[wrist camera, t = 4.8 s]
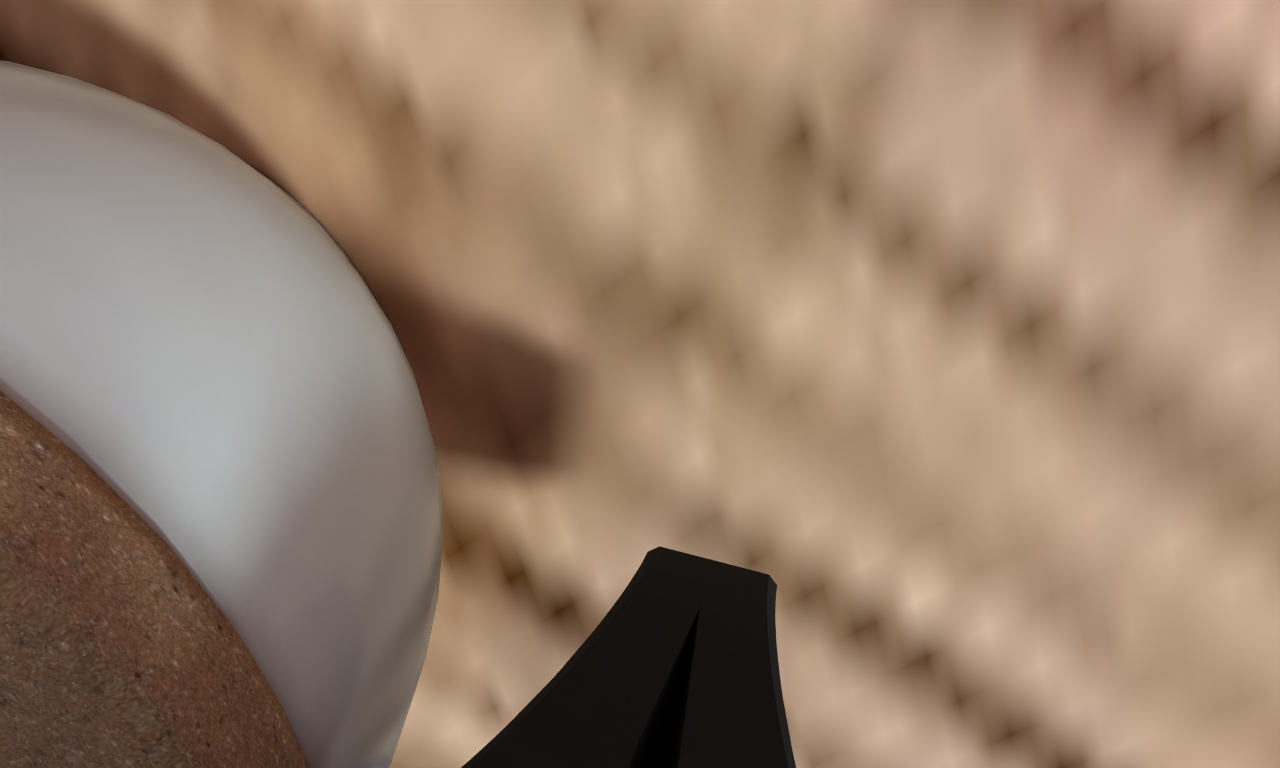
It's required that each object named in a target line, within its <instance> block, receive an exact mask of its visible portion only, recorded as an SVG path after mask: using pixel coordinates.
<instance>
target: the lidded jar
mask: <svg viewBox="0 0 1280 768" xmlns="http://www.w3.org/2000/svg"><path fill="white" fill-rule="evenodd" d="M441 557H442V498H441V489H440V480H439V471H438V462H437V453H436V449H435V446H434V442H433V438H432V435H431V431H430V428H429V424H428V420H427V417H426V414H425V410H424V407H423V403H422V400H421V396H420V393H419V389H418V386H417V382H416V379H415V376H414V373H413V371H412V369H411V366H410V364H409V362H408V360H407V358H406V356H405V353H404V351H403V349H402V347H401V345H400V342H399V340H398V338H397V336H396V334H395V332H394V329H393V327H392V325H391V323H390V322H389V320H388V319H387V317H386V316H385V314H384V312H383V311H382V309H381V308H380V306H379V305H378V303H377V301H376V300H375V298H374V297H373V295H372V294H371V292H370V290H369V289H368V287H367V286H366V284H365V283H364V281H363V279H362V278H361V276H360V275H359V274H358V272H357V271H356V269H355V268H354V266H353V264H352V263H351V261H350V260H349V258H348V257H347V255H346V253H345V252H344V251H343V250H342V249H341V247H340V246H339V245H338V244H337V242H336V241H335V240H334V239H333V238H332V236H331V235H330V234H329V233H328V232H327V230H326V229H325V228H324V227H323V226H322V224H321V223H320V222H319V221H318V220H317V219H316V218H315V217H314V216H312V215H311V214H310V213H309V212H308V211H307V210H306V209H305V208H304V207H303V206H302V205H301V204H300V203H299V202H298V201H297V200H296V199H295V198H294V197H292V196H291V195H290V194H289V193H287V192H286V191H285V190H283V189H282V188H281V187H279V186H278V185H277V184H275V183H274V182H273V181H271V180H270V179H269V178H267V177H266V176H265V175H263V174H262V173H261V172H259V171H257V170H256V169H254V168H252V167H251V166H249V165H248V164H247V163H245V162H244V161H243V160H241V159H240V158H239V157H237V156H236V155H235V154H233V153H232V152H231V151H229V150H228V149H227V148H225V147H224V146H223V145H221V144H219V143H217V142H216V141H214V140H212V139H210V138H209V137H207V136H205V135H203V134H202V133H200V132H198V131H196V130H195V129H193V128H191V127H189V126H188V125H186V124H184V123H182V122H181V121H179V120H177V119H175V118H174V117H172V116H170V115H168V114H166V113H164V112H162V111H159V110H157V109H154V108H152V107H149V106H147V105H144V104H142V103H140V102H137V101H135V100H132V99H130V98H127V97H125V96H123V95H120V94H118V93H115V92H113V91H110V90H108V89H105V88H102V87H99V86H96V85H93V84H90V83H88V82H85V81H82V80H79V79H76V78H73V77H69V76H65V75H61V74H57V73H53V72H49V71H45V70H41V69H37V68H33V67H29V66H25V65H21V64H17V63H13V62H9V61H0V768H390V765H391V762H392V759H393V756H394V753H395V750H396V747H397V744H398V741H399V738H400V735H401V732H402V729H403V726H404V723H405V720H406V717H407V714H408V711H409V708H410V705H411V702H412V699H413V696H414V693H415V690H416V686H417V683H418V680H419V677H420V674H421V671H422V668H423V664H424V661H425V658H426V654H427V649H428V644H429V639H430V634H431V629H432V624H433V619H434V615H435V610H436V605H437V600H438V594H439V581H440V569H441Z"/></svg>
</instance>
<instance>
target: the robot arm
mask: <svg viewBox="0 0 1280 768" xmlns="http://www.w3.org/2000/svg"><path fill="white" fill-rule="evenodd" d="M776 590H777V585H776V583H775V582H774V581H773V579H772V578H771V577H770V575H768V574H764V573H760V572H757V571H753V570H749V569H745V568H741V567H737V566H733V565H729V564H726V563H722V562H718V561H714V560H710V559H706V558H702V557H698V556H695V555H691V554H687V553H683V552H679V551H675V550H671V549H667V548H664V547H657V548H655V549H653V550H651V551H648V553H647V555H646V556H645V558H644V560H643V562H642V564H641V566H640V567H639V569H638V571H637V572H636V574H635V575H634V577H633V578H632V580H631V581H630V583H629V585H628V586H627V587H626V589H625V590H624V592H623V593H622V595H621V596H620V597H619V599H618V600H617V602H616V603H615V604H614V606H613V607H612V608H611V609H610V611H609V612H608V613H607V615H606V616H605V617H604V619H603V620H602V621H601V623H600V624H599V625H598V626H597V628H596V629H595V630H594V631H593V632H592V634H591V635H590V636H589V637H588V638H587V640H586V641H585V642H584V643H583V644H582V645H581V647H580V648H579V649H578V650H577V651H576V652H575V654H574V655H573V656H572V657H571V658H570V659H569V661H568V662H567V663H566V664H565V665H564V667H563V668H562V669H561V670H560V671H559V672H558V673H557V674H556V676H555V677H554V678H553V679H552V680H551V681H550V682H549V683H548V684H547V685H546V686H545V687H544V688H543V689H542V690H541V691H540V692H539V693H538V694H537V695H536V696H535V697H534V698H533V699H532V701H531V702H530V703H529V704H528V705H527V706H526V707H525V708H524V709H523V710H522V711H521V712H520V713H519V714H518V715H517V716H516V717H515V718H514V719H513V720H512V721H511V722H510V723H509V724H508V725H507V726H506V727H505V728H504V729H503V730H502V731H501V732H500V733H499V734H498V735H497V736H496V737H494V738H493V739H492V740H491V741H490V742H489V743H488V744H487V745H486V746H485V747H484V748H483V749H482V750H480V751H479V752H478V753H477V754H476V755H475V756H474V757H473V758H472V759H471V760H469V761H468V762H467V763H466V764H465V765H464V766H462V767H461V768H796V765H795V761H794V756H793V752H792V747H791V741H790V735H789V730H788V724H787V719H786V713H785V708H784V702H783V696H782V689H781V682H780V674H779V665H778V655H777V644H776V627H775V601H776Z"/></svg>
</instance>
